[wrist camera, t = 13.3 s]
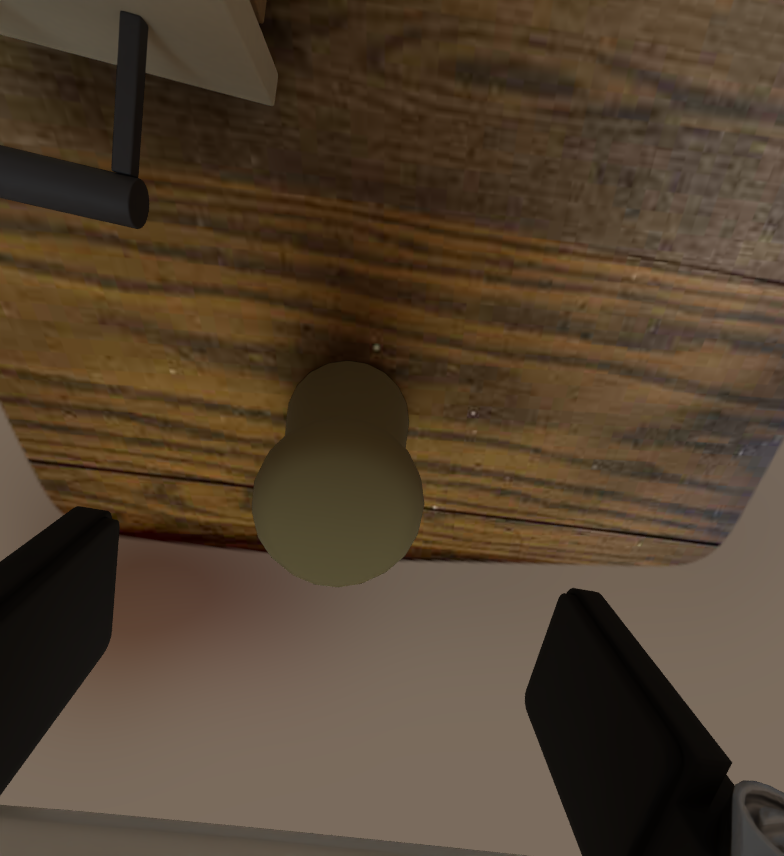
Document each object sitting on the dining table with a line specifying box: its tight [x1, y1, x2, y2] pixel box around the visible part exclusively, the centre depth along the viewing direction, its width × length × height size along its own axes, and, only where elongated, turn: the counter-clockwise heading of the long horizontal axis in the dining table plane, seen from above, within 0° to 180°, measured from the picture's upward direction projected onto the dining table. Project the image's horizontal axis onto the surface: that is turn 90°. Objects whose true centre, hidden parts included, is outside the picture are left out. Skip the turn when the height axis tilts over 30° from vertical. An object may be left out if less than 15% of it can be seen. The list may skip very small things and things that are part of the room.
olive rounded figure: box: [252, 361, 424, 587], centre depth 18 cm, size 6×6×11 cm
